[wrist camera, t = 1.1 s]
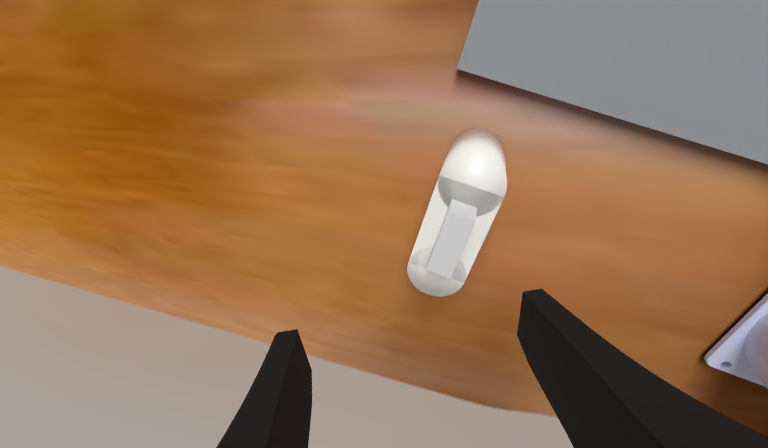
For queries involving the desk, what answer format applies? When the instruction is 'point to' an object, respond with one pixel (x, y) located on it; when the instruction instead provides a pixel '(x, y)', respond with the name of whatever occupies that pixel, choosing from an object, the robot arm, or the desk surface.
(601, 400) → the robot arm
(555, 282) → the desk surface
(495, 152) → the connector plug
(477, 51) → the desk mat
